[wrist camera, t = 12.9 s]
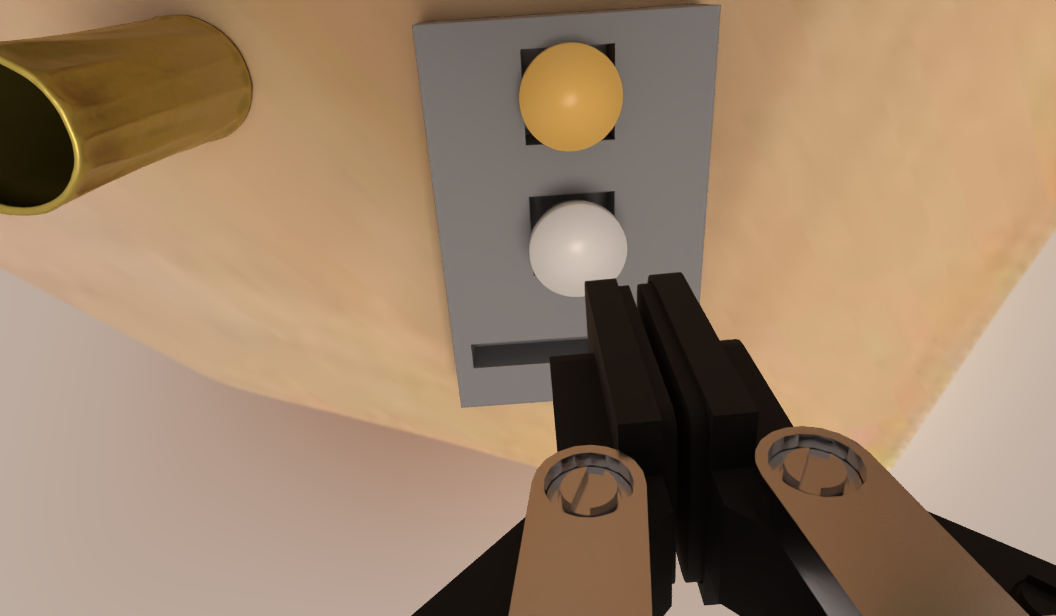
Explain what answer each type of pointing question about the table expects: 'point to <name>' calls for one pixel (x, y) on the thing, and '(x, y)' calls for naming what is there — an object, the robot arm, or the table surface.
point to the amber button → (570, 96)
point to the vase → (111, 105)
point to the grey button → (576, 246)
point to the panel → (559, 176)
